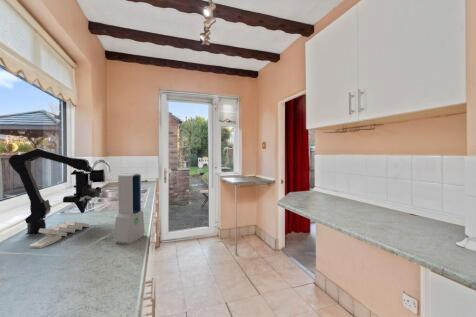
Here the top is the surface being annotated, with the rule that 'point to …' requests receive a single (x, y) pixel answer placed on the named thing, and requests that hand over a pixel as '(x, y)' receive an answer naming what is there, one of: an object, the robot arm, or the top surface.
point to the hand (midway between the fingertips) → (82, 212)
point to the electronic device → (129, 209)
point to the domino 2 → (46, 241)
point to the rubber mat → (70, 235)
